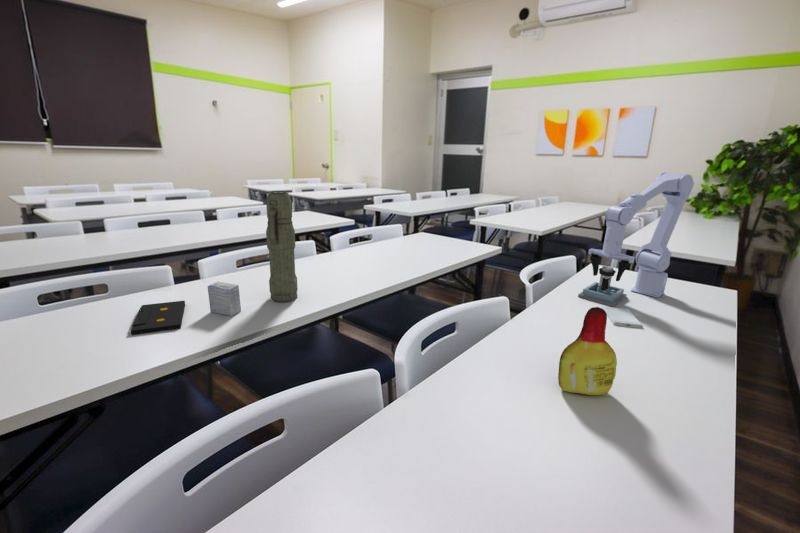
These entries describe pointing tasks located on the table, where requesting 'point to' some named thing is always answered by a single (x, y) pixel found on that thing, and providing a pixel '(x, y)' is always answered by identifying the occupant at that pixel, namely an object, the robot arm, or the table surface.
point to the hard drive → (622, 317)
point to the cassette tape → (158, 317)
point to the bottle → (589, 358)
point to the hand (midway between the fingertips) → (606, 277)
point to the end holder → (603, 295)
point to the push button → (605, 280)
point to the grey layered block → (224, 298)
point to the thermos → (281, 247)
